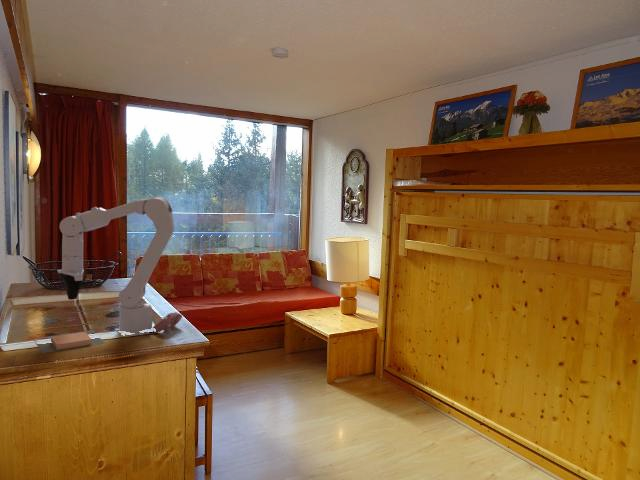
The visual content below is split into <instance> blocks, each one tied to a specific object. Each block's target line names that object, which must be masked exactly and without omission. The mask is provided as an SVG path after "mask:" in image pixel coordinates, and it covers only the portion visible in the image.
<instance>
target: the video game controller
mask: <svg viewBox="0 0 640 480" xmlns="http://www.w3.org/2000/svg"><path fill="white" fill-rule="evenodd" d="M182 318H183V315H182V314H180V313H179V312H177V311H175V312H170V313H169V312H168V313H167V314H166V316H164V317H162V319H161V320H160V321H158V323H156V324H155V325H154V326H153V325H152V328H155V329H156V332H157V333H160V332H162V331H164V332H167V331H169V330H170V329H174V328H175V327H176V325H177V324H179V322H180V321H181V319H182ZM157 333H156V334H157Z"/></svg>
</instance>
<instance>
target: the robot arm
mask: <svg viewBox="0 0 640 480" xmlns="http://www.w3.org/2000/svg"><path fill="white" fill-rule="evenodd" d="M131 214H138V215H142V216H144V215H146V216H147V217H148V218H149V219H150V220H151V221H152V224H153V226H154V228H155V230H156V231H155V233H154V235H153V237H152V239H151V241H150V243H149V245H148V247H147V248H146V251H145V253H144V254H143V255H142V258H141V260H140V261H139V264H138V266H137V268H136V270H135V271H134V273H133V275H132V276H131V278H130V280H129V282H128V283H126V286H125V287H124V288H123V289H121V290H120V292H119V293H118V301H119V302H118V303H119V323H118V325H119V326H118V327H117V328H114V330H115V332H117V330H119V331H126V332H130V333H135V334H133V335H125V336H122V337H123V338H124V337H131V336H136V335H146V334H148V335H149V333H148V332H144V333H140V332H139V331H142V330H145V329H151V328H153V316H154V315H153V313H154V312H153V307H152V305H151V303H147V302H146V303H145V301H144V299H143V297H144V296H145V295H146V287H147V284H148V283H149V279H150V277H151V275H152V274H153V272H154V270H155V268H156V266H157V264H158V262H159V260H160V258H161V257H162V254H163V252H164V251H165V249H166V247H167V245H168V243H169V241H170V239H171V237H172V235H173V234H174V231H175V227H174V224H175V223H174V217H173V209H172V206H171V204H170V202H169V201H168V200H167V198H165V197H162V196H155V197H153V198H152V197H150V198H149V197H148V198H145V199H137V200H134V201H131V202H127V203H125V204H122V205H119V206H118V205H117V206H115V207H113V208H110V209H105V208H103V207H97V206H94V207H91V208H90V210H87V211H84V212H76V213H75V215H72V216H71V215H70V216H67V217H64V218H63V219H61V221H60V222H59V227H58V228H59V230H60V231H59V232H61V233H62V240H61V242H62V245H61V269H57V273H58V274H63V275H61V276H60V278H61V280H62V282H63V284H64V287H65V291H66V295H67V299H68V300H69V301H71V300H77V299H78V296H79V292H80V288H81V286H82V284H83V282H84V280H85V277H84V272H85V270H84V233H85V232H90V231H94V230H97V229H101V228H103V227H106V226H108V225H109V223H110V222H111V220H114V219H117V218H121V217H124V216H125V217H126V216H128V215H131Z"/></svg>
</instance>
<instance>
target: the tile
mask: <svg viewBox="0 0 640 480" xmlns="http://www.w3.org/2000/svg"><path fill="white" fill-rule="evenodd" d="M81 332H82V333H76V332H74V333H75V334H69V333H67V334H68V335H62V334H60V335H61V336H55V335H53V336H54V337H51V342H52V344H53V345H54V347H55V348H56V349H57V350H59V349H65V348H71V347H77V346H84V345H90V344H92V339H91V338H90V337H89V336H88V335H87V334H86V333H85V332H83V331H81Z"/></svg>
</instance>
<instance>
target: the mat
mask: <svg viewBox="0 0 640 480" xmlns="http://www.w3.org/2000/svg"><path fill="white" fill-rule="evenodd" d="M82 332H85V333H86V334H89V333H96V332H95V331H94V330H93V329H91V330H85V331H84V330H82V331H76V332H71V333H69V332H68V333H63V334H62V333H61V334H57V335H56V334H55V335H50V336H42V337H33V340H34V339H43V338H51V337H54V336H61V335H68V334H75V333H82ZM102 344H103V345H104V344H106V342H105V341H104V340H103V339H102V338H101V337H100V338H95V339H92V344H90V345H84V346H77V347H71V348H65V349H59V350H57V349H56V348H55V347H54V345H53V344H52V343H46V344H36V345H37V347H38V349H39V350H40V352H41V353H42V354H47V353H53V352H59V351H60V352H61V351H65V350H66V351H67V350H72V349H79V348H83V347H91V346H96V345H102Z"/></svg>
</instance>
